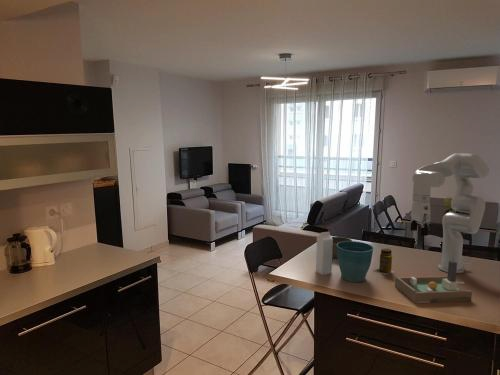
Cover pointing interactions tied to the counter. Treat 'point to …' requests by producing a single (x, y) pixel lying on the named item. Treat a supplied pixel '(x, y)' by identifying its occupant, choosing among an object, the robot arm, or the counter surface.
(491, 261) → the counter surface
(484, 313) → the counter surface
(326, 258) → the milk
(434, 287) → the ball
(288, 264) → the counter surface
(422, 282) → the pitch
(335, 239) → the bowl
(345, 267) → the flower pot
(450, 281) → the striker
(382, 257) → the condiment
